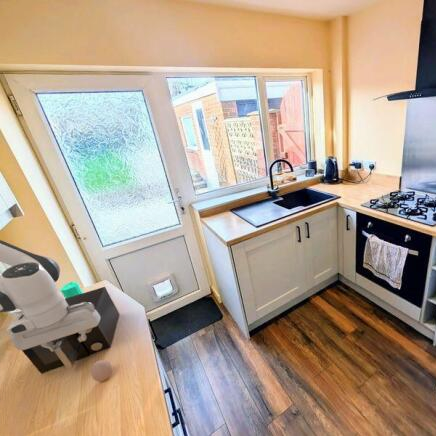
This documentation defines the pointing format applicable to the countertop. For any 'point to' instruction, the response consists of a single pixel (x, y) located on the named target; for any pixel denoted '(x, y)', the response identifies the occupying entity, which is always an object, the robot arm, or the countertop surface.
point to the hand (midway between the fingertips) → (69, 344)
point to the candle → (71, 289)
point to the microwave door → (57, 354)
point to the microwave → (109, 314)
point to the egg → (101, 370)
